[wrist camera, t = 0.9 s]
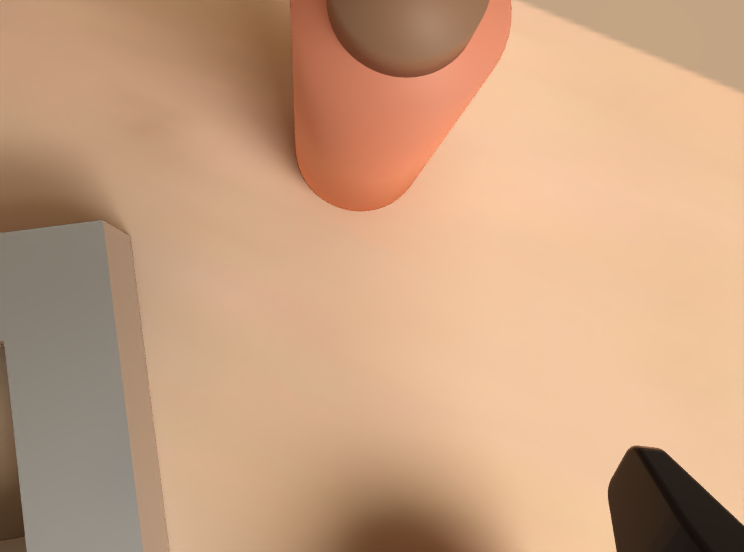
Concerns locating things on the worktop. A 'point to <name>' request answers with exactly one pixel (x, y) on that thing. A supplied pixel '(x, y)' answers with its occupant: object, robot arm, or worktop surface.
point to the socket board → (79, 392)
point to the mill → (384, 88)
